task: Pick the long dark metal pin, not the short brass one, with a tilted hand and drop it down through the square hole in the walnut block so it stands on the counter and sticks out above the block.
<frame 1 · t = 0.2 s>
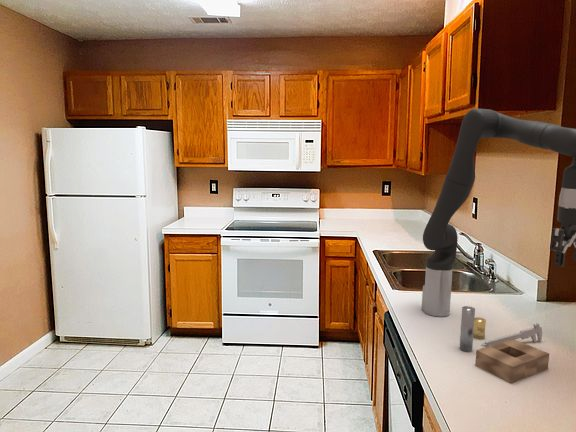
hand: (568, 264, 119), 29 cm above the worktop, tool pointing down, fingers open, 8 cm apart
caliper: (511, 344, 136), on the worktop
long pin: (465, 349, 132), on the worktop
short pin: (478, 337, 140), on the worktop
hole block: (511, 367, 121), on the worktop
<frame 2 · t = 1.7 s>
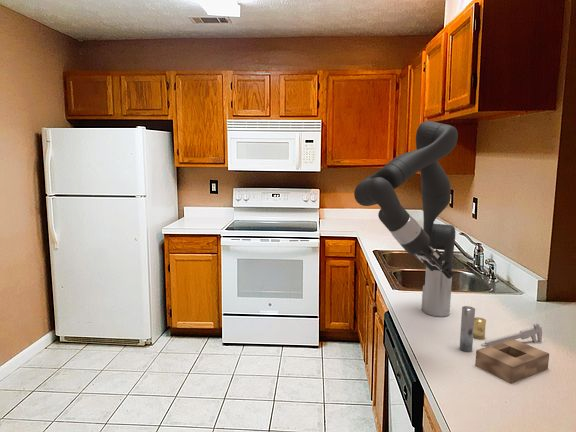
hand: (442, 272, 125), 25 cm above the worktop, tool tilted 45°, fingers open, 8 cm apart
nothing on the worktop moved.
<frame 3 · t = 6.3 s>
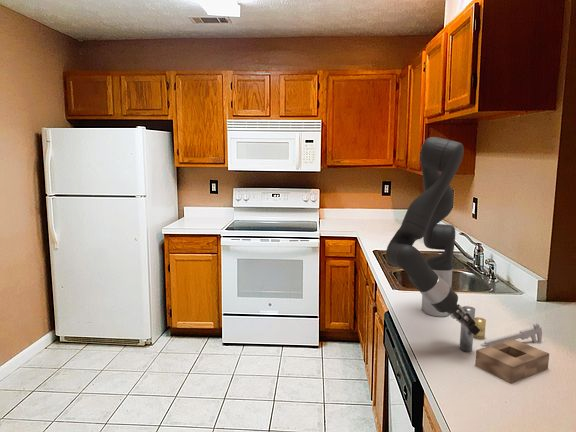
hand: (473, 329, 131), 6 cm above the worktop, tool tilted 45°, fingers closed on long pin, 3 cm apart
long pin: (465, 349, 132), on the worktop, touching gripper
everything else where it was.
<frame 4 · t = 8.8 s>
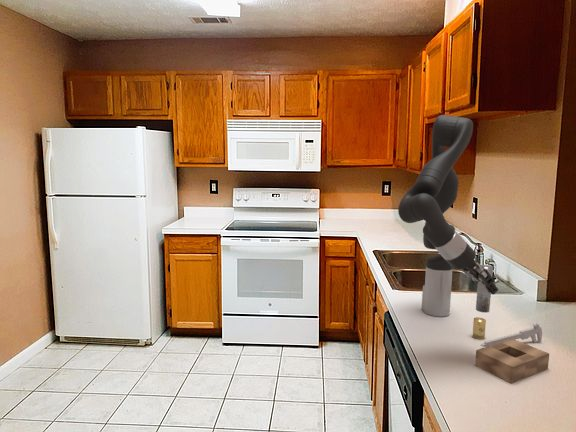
hand: (490, 289, 125), 20 cm above the worktop, tool tilted 45°, fingers closed on long pin, 3 cm apart
long pin: (482, 310, 126), point 14 cm above the worktop, touching gripper
everything else where it was.
when the fingers open (7 cm above the worktop, at t = 11.6 s): long pin drops 1 cm, resting in hole block.
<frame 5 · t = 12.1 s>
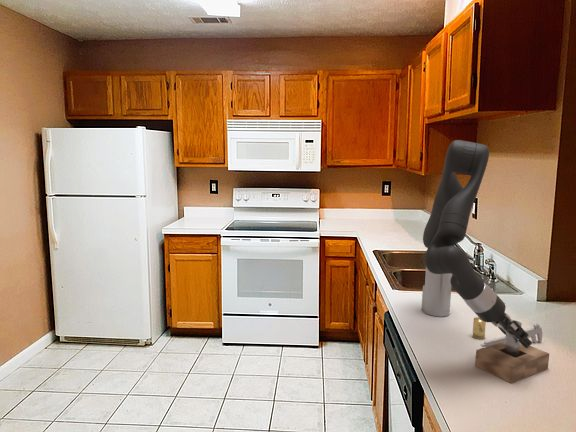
hand: (518, 338, 120), 8 cm above the worktop, tool tilted 45°, fingers open, 8 cm apart
long pin: (510, 367, 121), resting in hole block
everything else where it was.
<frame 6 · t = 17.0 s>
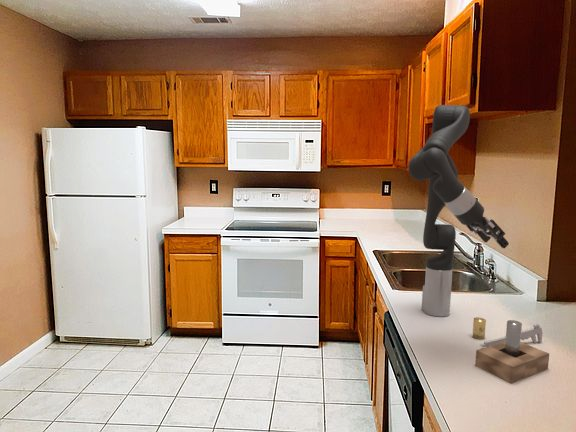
hand: (496, 243, 128), 33 cm above the worktop, tool tilted 45°, fingers open, 8 cm apart
nothing on the worktop moved.
at the end: long pin 0.2 cm off-centre on the hole block, point 0.0 cm above the hole block's base; long pin tilted 0°; short pin moved 0.0 cm from its start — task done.
